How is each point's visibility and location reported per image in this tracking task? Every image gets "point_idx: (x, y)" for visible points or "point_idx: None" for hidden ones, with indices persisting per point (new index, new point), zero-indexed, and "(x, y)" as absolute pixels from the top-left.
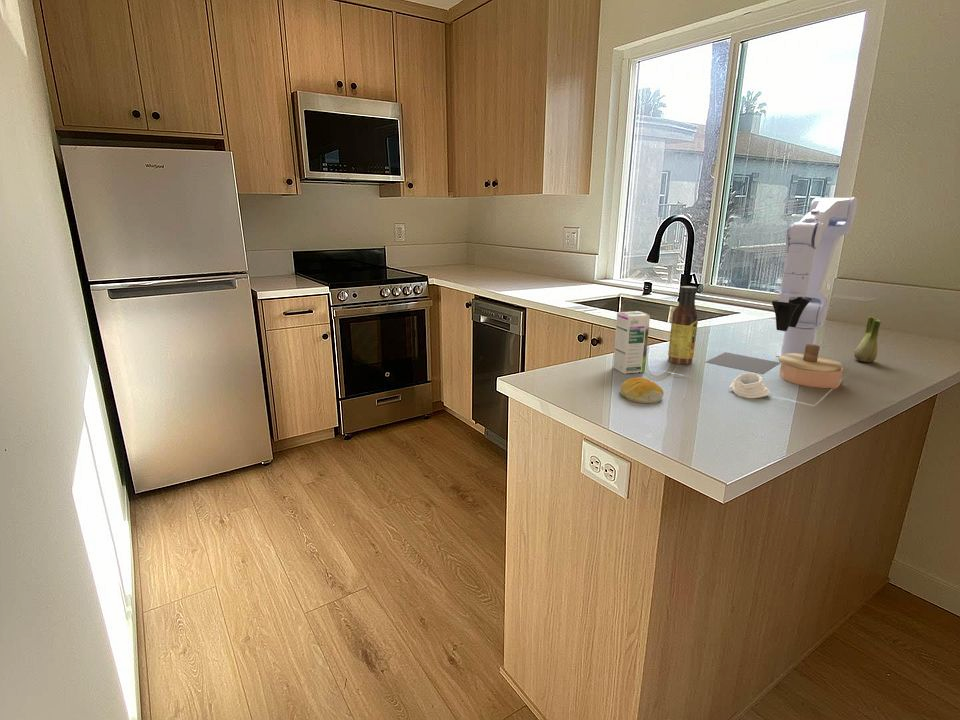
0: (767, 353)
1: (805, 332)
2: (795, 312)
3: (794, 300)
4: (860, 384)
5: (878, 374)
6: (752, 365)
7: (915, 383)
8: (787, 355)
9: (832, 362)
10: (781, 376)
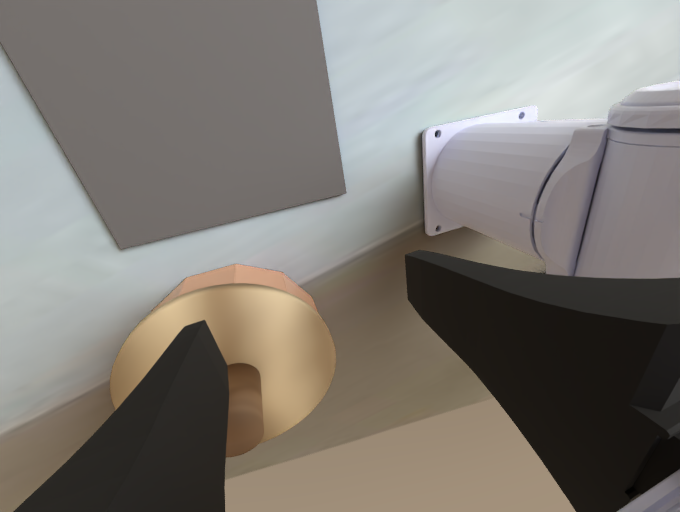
0: (460, 75)
1: (518, 243)
2: (485, 353)
3: (618, 440)
4: (332, 389)
5: (447, 355)
6: (195, 153)
7: (430, 407)
8: (223, 311)
9: (286, 411)
10: (166, 299)
